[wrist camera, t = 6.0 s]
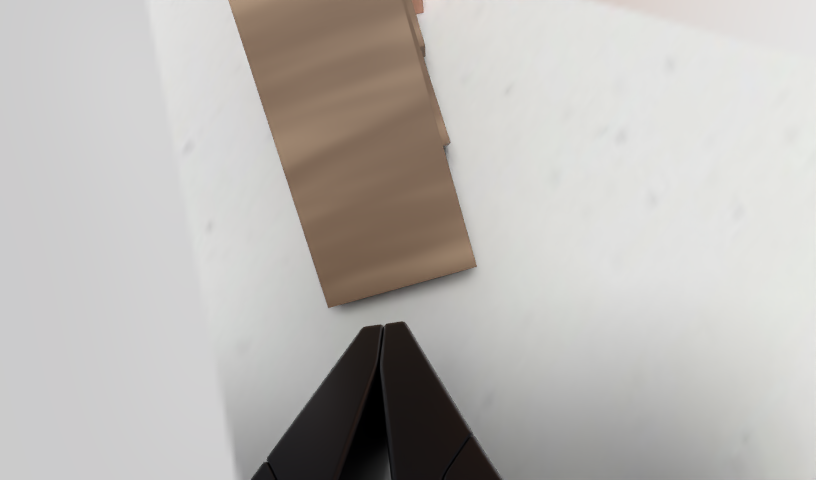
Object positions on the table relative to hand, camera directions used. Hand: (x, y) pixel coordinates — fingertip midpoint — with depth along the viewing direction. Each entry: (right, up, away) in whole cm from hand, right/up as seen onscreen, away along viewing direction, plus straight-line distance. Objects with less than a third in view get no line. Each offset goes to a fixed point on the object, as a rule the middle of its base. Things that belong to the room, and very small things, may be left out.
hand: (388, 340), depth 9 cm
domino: (0, +1, +7) cm, 7 cm away
